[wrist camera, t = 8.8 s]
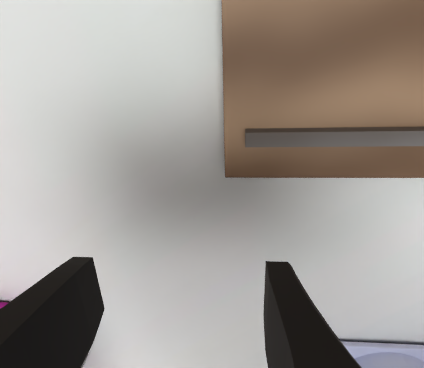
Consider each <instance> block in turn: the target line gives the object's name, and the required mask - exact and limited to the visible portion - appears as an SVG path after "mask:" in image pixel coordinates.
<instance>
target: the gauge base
mask: <svg viewBox="0 0 424 368" xmlns="http://www.w3.org/2000/svg"><path fill="white" fill-rule="evenodd" d="M222 42H223V95H224V148H225V177H244V178H424V0H222Z"/></svg>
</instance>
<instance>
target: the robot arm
mask: <svg viewBox="0 0 424 368" xmlns="http://www.w3.org/2000/svg"><path fill="white" fill-rule="evenodd" d="M103 312H104V304H103V300H102V296H101V291H100V287H99V283H98V279H97V274H96V270H95V266H94V261H93V257H72V258H71V259H69V260H68V261H66V262H65V263H63V264H62V265H60V266H59V267H58V268H56V269H55V270H53V271H52V272H51V273H49V274H48V275H47V276H45V277H44V278H42V279H41V280H40V281H38V282H37V283H36V284H34V285H33V286H32V287H30V288H29V289H27V290H26V291H25V292H23V293H22V294H20V295H19V296H18V297H16V298H15V299H13V300H12V301H11V302H9V303H8V304H7V305H5V306H4V307H2V308H1V309H0V368H81V367H82V365H83V363H84V361H85V359H86V357H87V354H88V352H89V350H90V348H91V346H92V344H93V341H94V339H95V336H96V333H97V330H98V327H99V324H100V321H101V318H102V315H103ZM264 332H265V350H266V356H267V363H268V368H424V345H413V344H390V343H366V342H343V341H340V340H339V339H338V337H337V336H336V335H335V333H334V332H333V331H332V329H331V328H330V327H329V325H328V324H327V322H326V321H325V319H324V318H323V316H322V315H321V314H320V312H319V311H318V309H317V308H316V306H315V305H314V303H313V302H312V300H311V299H310V297H309V296H308V294H307V292H306V291H305V289H304V288H303V286H302V284H301V283H300V281H299V279H298V277H297V275H296V274H295V272H294V270H293V268H292V266H291V265H290V264H289V263H288V262H269V261H266V271H265V294H264Z"/></svg>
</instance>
